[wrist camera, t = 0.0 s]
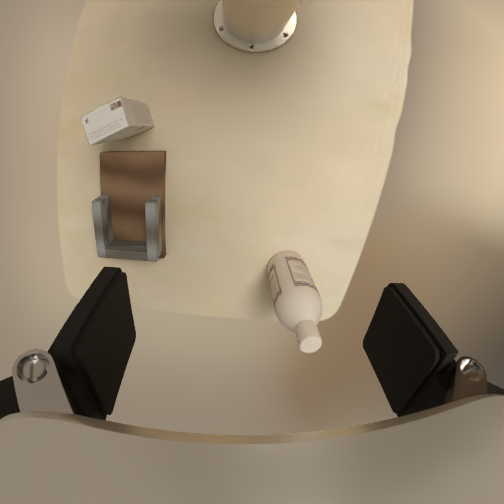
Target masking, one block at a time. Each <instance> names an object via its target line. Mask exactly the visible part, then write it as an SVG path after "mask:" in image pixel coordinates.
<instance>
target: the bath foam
mask: <svg viewBox="0 0 504 504" xmlns="http://www.w3.org/2000/svg"><path fill="white" fill-rule="evenodd" d="M267 273H268V279H269V283H270V288H271V293H272V298H273V303H274V308H275V312H276V314H277V317H278V319H279V320H280V322H281V323H282V324H283V325H284V326H285V327H286V328H287V329H289V330H291V331H293V332H295V333H296V337H297V341H298V344H299V348H300V350H301V351H302V352H305V353H312V352H315V351H317V350H318V349H319V348H320V347H321V345H322V340H321V337H320V334H319V332H318V329H317V324H318V322H319V320H320V317H321V314H322V301H321V298H320V295H319V293H318V291H317V288H316V286H315V284H314V282H313V279H312V277H311V275H310V273H309V271H308V268H307V266H306V264H305V262H304V260H303V258H302V257H301V256H300V255H299V254H297V253H295V252H291V251H284V252H280V253H278V254H276V255H275V256H274V257H272V259H271V260H270V261H269V263H268V267H267Z"/></svg>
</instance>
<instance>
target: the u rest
mask: <svg viewBox="0 0 504 504" xmlns="http://www.w3.org/2000/svg"><path fill="white" fill-rule="evenodd" d="M165 169H166V151H110V152H101V153H100V182H101V196H100V197H98V198H97V199H95V200H94V201H92V207H93V218H94V228H95V237H96V245H97V252H98V257H104V258H117V259H129V260H142V261H155V262H157V260H158V258H164V257H165V255H166V248H165Z"/></svg>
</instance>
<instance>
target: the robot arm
mask: <svg viewBox="0 0 504 504" xmlns="http://www.w3.org/2000/svg"><path fill="white" fill-rule="evenodd" d="M301 1H302V0H220V1H219V2H218V4H217V5H216V7H215V10H214V14H213V21H214V26H215V29H216V31H217V33H218V35H219V36H220V37H221V38H222V39H223V40H224V41H225V42H226V43H227V44H229V45H230V46H232V47H234V48H236V49H239V50H243V51H247V52H265V51H270V50H273V49H276V48H278V47H280V46H281V45H283V44H284V43H285V42H287V41H288V40H289V39H290V37H291V36H292V34H293V33H294V31H295V28H296V26H297V15H296V11H295V10H296V9H297V7H298V5H299V4H300V2H301ZM220 29H223V31H220ZM284 35H285V36H286V37H283V36H284ZM250 46H252V47H253V48H252V49H251V48H250ZM135 338H136V331H135V326H134V320H133V315H132V309H131V303H130V297H129V290H128V283H127V276H126V273H124V272H122V270H121V269H120V268H116V267H104V268H103V269H102V270H101V272H100V273H99V274H98V276H97V277H96V279H95V280H94V281H93V283H92V284H91V286H90V287H89V289H88V290H87V291H86V293H85V294H84V296H83V297H82V299H81V300H80V302H79V303H78V304H77V305H76V307H75V309H74V310H73V311H72V313H71V315H70V316H69V318H68V319H67V321H66V323H65V324H64V326H63V327H62V329H61V330H60V332H59V334H58V336H57V337H56V338H55V340H54V342H53V344H52V345H51V347H50V349H49V350H48V352H46V351H43V350H38V349H34V350H29V351H27V352H25V353H23V354H22V355H20V356H19V357H18V358H17V360H16V361H15V362H14V365H13V368H12V375H13V376H11V377H9V378H6V379H4V380H1V381H0V504H504V389H502V388H500V387H498V386H496V385H493V384H491V383H489V382H487V374H486V370H485V369H484V367H483V365H482V364H481V363H480V362H479V361H477V360H476V359H474V358H472V357H468V356H463V357H460V358H459V359H458V360H457V362H456V361H455V360H454V358H455V357H456V355H457V353H458V350H457V349H456V348H455V346H454V345H453V344H452V342H451V341H450V340H449V338H448V337H447V336H446V334H445V333H444V332H443V330H442V329H441V328H440V327H439V325H438V324H437V323H436V321H435V320H434V319H433V318H432V316H431V315H430V314H429V313H428V311H427V310H426V309H425V308H424V307H423V305H422V304H421V303H420V302H419V300H418V299H417V298H416V297H415V296H414V294H413V293H412V292H411V291H410V290H409V289H408V287H407V286H406V285H405V284H403V283H390V284H389V285H388V286H387V287H385V288H384V290H383V293H382V296H381V298H380V301H379V304H378V306H377V308H376V311H375V314H374V316H373V318H372V321H371V323H370V326H369V328H368V330H367V333H366V335H365V337H364V340H363V348H364V350H365V352H366V354H367V356H368V358H369V360H370V362H371V365H372V367H373V369H374V371H375V373H376V375H377V377H378V379H379V382H380V384H381V386H382V388H383V390H384V393H385V395H386V397H387V399H388V402H389V404H390V406H391V408H392V410H393V412H394V413H396V414H397V416H398V417H397V418H393V419H388V420H384V421H379V422H374V423H369V424H364V425H358V426H353V427H346V428H339V429H332V430H324V431H315V432H305V433H292V434H274V435H218V434H200V433H187V432H177V431H168V430H161V429H153V428H145V427H139V426H133V425H127V424H121V423H116V422H111V421H106V420H105V419H106V416H107V414H108V415H111V413H112V411H113V408H114V405H115V401H116V398H117V394H118V391H119V388H120V385H121V382H122V378H123V375H124V372H125V369H126V366H127V363H128V360H129V357H130V354H131V351H132V348H133V345H134V342H135Z"/></svg>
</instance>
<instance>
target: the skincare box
mask: <svg viewBox="0 0 504 504" xmlns="http://www.w3.org/2000/svg"><path fill="white" fill-rule="evenodd" d="M81 121H82V124H83V127H84V130H85V133H86V137H87V140H88V142H89V145H90V146H91V145H94V144H100V143H106V142H111V141H117V140H122V139H125V138H128V137H131V136H133V135H136V134H138V133H141V132H143V131H145V130H148V129H150V128H152V127H154V125H153V122H152V118H151V115H150V112H149V109H148V105H147V104H146V103H142V102H138V101H134V100H130V99H126V98H122V97H119V98H117V99H115V100H113V101H111V102H108V103H106V104H104V105H101V106H99V107H97V108H96V109H94V110H93V111H91V112H89V113H87V114H86V115H84V116H82V117H81Z"/></svg>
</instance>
